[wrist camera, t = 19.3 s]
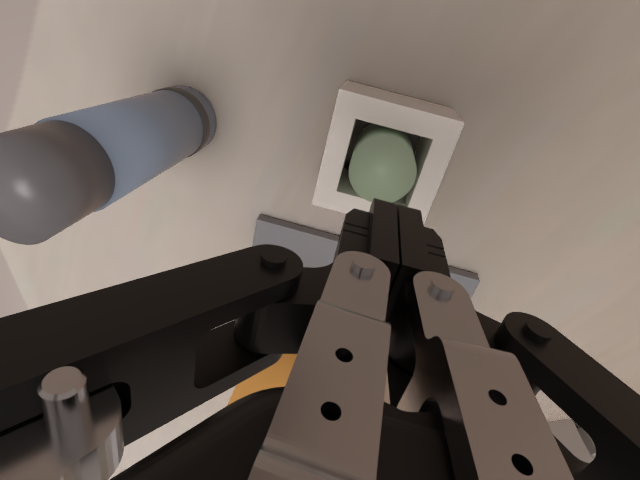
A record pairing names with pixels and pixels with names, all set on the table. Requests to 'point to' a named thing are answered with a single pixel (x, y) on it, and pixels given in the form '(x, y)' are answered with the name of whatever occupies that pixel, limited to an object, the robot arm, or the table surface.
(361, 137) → the button
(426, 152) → the button housing
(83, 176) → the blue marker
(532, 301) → the table surface
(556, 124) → the table surface
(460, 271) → the picture board
